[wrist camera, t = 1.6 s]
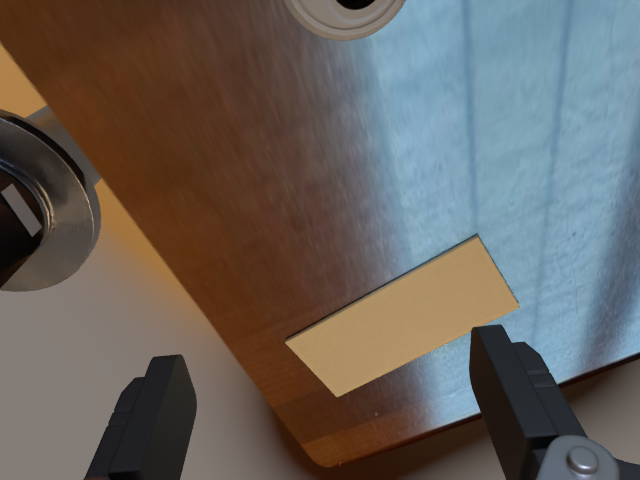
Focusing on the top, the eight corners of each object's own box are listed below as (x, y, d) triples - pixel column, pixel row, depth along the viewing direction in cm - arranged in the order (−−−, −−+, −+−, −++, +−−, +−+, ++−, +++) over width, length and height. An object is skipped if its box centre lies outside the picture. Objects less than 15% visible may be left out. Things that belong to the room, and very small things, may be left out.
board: (336, 394, 51) (337, 397, 50) (285, 339, 47) (284, 342, 47) (518, 304, 45) (520, 307, 45) (477, 234, 42) (478, 237, 41)
